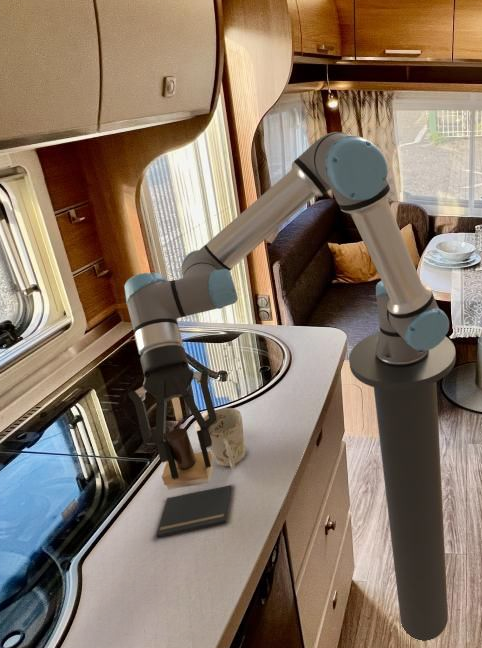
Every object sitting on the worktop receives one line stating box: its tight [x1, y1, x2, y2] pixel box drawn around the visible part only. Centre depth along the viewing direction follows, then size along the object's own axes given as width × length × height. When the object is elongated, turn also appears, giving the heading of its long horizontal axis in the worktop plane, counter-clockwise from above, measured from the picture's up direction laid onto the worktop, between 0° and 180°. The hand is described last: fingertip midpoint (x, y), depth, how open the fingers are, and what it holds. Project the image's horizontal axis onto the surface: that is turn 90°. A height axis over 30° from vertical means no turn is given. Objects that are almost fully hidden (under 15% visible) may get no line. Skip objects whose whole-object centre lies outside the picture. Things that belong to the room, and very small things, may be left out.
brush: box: [161, 427, 214, 491], centre depth 90 cm, size 7×5×10 cm, turn 102°
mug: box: [199, 407, 246, 469], centre depth 105 cm, size 8×13×10 cm, turn 33°
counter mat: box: [155, 484, 232, 538], centre depth 96 cm, size 12×9×1 cm
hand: (192, 472), depth 88 cm, fingers closed on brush, 5 cm apart
